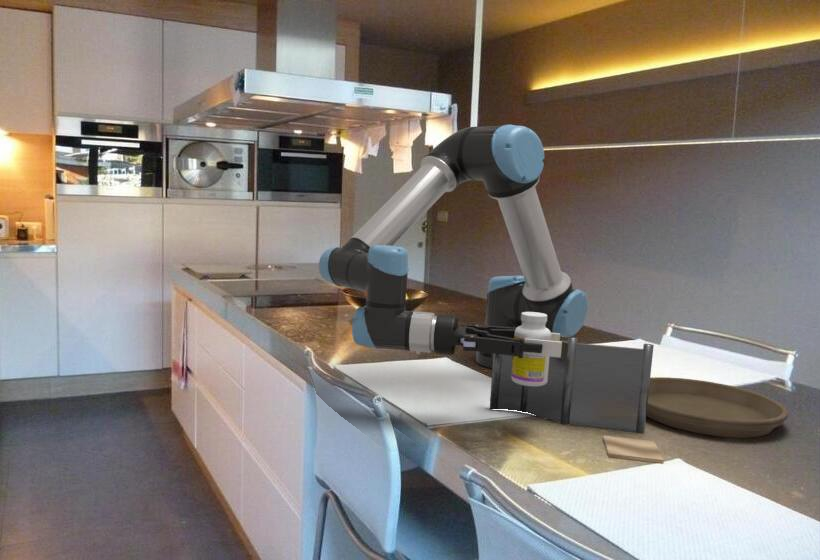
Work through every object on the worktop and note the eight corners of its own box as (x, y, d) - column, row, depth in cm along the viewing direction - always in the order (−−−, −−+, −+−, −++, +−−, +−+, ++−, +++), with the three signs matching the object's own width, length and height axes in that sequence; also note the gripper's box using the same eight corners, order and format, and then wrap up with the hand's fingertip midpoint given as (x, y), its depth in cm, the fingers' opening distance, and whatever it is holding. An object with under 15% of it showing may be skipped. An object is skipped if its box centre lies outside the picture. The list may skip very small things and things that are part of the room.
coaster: (602, 438, 125) (603, 435, 125) (653, 444, 124) (654, 441, 124) (608, 456, 117) (608, 453, 117) (663, 463, 115) (663, 459, 115)
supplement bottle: (522, 375, 130) (527, 309, 129) (553, 383, 126) (559, 314, 124) (503, 381, 125) (509, 312, 124) (535, 389, 121) (541, 318, 119)
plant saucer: (669, 387, 165) (671, 368, 164) (809, 424, 142) (812, 403, 141) (596, 409, 144) (598, 388, 143) (746, 457, 121) (749, 432, 121)
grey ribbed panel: (489, 407, 140) (495, 326, 138) (640, 423, 135) (649, 339, 133) (488, 416, 134) (494, 331, 132) (645, 433, 130) (654, 346, 127)
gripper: (440, 342, 138) (556, 353, 134) (426, 365, 119) (560, 379, 115) (443, 305, 137) (559, 315, 133) (428, 323, 118) (564, 335, 114)
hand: (560, 345), depth 124 cm, fingers closed on supplement bottle, 7 cm apart
